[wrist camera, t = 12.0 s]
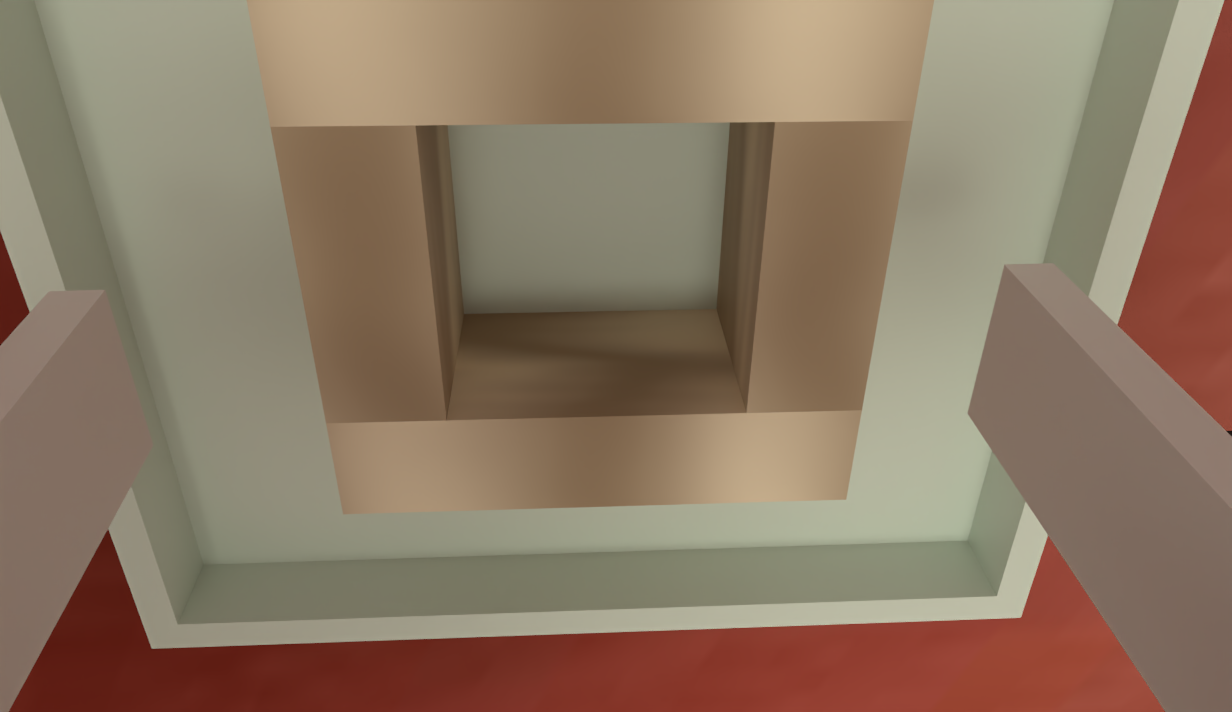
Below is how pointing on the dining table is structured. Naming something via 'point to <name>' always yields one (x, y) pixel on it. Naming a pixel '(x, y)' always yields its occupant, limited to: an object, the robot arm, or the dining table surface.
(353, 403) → the wooden square frame
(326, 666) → the dining table surface
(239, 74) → the sage tray
